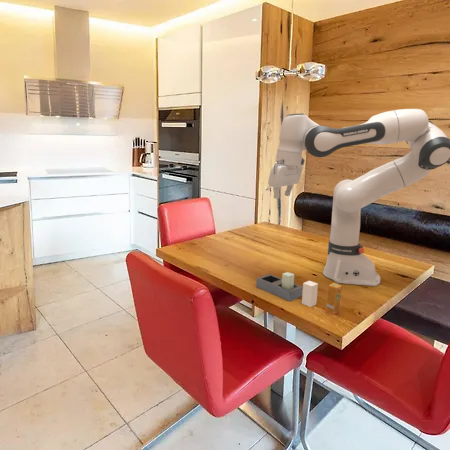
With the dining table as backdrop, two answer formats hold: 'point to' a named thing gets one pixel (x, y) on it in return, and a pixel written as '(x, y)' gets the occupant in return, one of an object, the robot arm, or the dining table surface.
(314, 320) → the dining table surface
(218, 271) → the dining table surface
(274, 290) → the grey peg holder
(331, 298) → the supplement box
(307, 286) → the block
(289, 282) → the beige peg
